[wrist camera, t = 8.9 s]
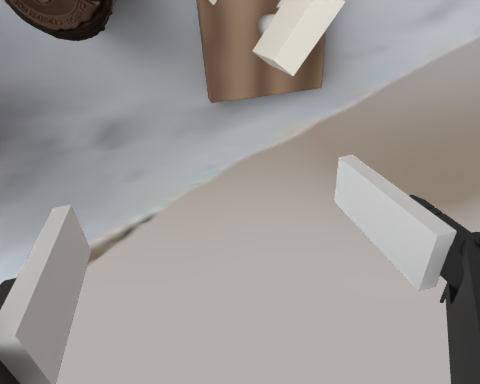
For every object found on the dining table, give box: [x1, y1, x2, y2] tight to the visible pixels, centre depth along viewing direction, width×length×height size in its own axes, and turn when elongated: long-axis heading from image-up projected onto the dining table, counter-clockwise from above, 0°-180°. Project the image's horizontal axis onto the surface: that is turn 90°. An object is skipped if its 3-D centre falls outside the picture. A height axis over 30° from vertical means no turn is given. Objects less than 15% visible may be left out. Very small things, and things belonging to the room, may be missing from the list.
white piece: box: [252, 0, 345, 76], centre depth 30 cm, size 2×12×12 cm, turn 144°
